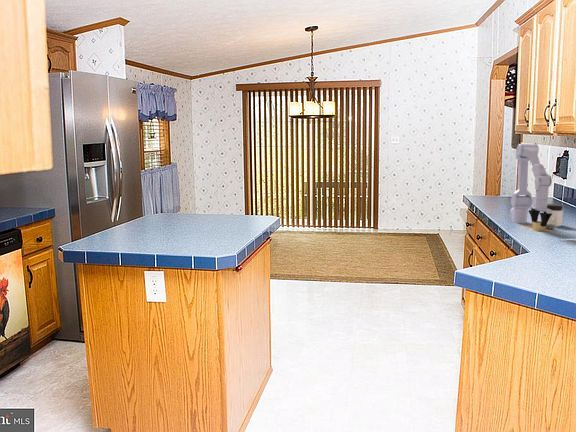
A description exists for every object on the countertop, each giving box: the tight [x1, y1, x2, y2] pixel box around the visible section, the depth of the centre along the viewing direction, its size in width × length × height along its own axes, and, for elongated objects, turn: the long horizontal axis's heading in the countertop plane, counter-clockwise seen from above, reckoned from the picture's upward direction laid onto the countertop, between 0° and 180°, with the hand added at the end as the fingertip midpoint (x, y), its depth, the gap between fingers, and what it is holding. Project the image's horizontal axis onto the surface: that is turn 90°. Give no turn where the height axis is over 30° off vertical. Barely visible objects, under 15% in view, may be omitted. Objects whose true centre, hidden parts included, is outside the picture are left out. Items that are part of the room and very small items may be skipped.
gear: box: [545, 223, 556, 230], centre depth 277 cm, size 5×5×3 cm
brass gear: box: [531, 220, 546, 232], centre depth 276 cm, size 5×5×4 cm
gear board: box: [519, 224, 559, 232], centre depth 280 cm, size 16×13×4 cm
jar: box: [547, 203, 564, 227], centre depth 290 cm, size 9×8×12 cm
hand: (538, 225), depth 276 cm, fingers open, 7 cm apart
